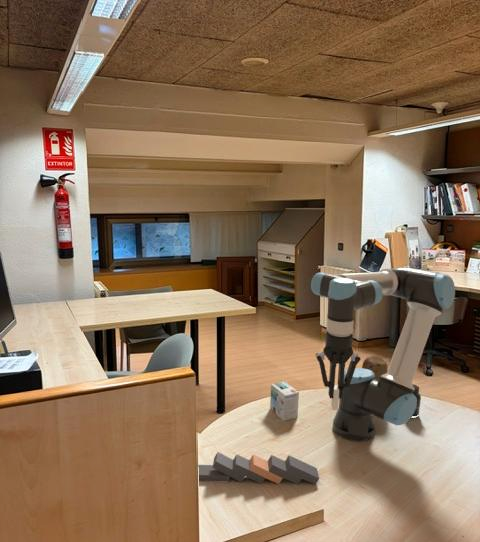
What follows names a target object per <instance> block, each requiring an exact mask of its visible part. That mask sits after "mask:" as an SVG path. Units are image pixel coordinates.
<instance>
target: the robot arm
mask: <svg viewBox="0 0 480 542" xmlns="http://www.w3.org/2000/svg"><path fill="white" fill-rule="evenodd" d="M310 289H311V291H312V293H313V294H314V295H317V296H319V297H321V298H327V301H328V302H327V315H326V316H327V319H326V333H325V344H324V345H325V346H324V348H323V351H321V352H320V353H318V352H316V354H315V358H316V360H317V361H318V364H319V368H320V374H321V380H322V382H323V385H324V387H325V388H328V396H329V399H331V405H330V406H331V409H332V410H333V411H337V412H336V414H335V416H334V418H333V420H332V430H333V431H334V432H335V434H337V435H338V436H340V437H341V438H344V439H346V440H350V441H356V442H357V441H358V442H361V441H362V442H363V441H367V440H370V439H372V438H373V437H374V436H375V432H376V426H375V422H374V418H373V416H375V417H377V418H378V419H381V420H383V421H384V422H387V423H389V424H392V425H394V426H402V425H404V424H406V423H407V422H409V420H410V419H412V418H411V417H412V415H413V413H414V411H415V409H416V406H417V398H416V396H415V395H414V394H413V392H414V390H415V389H414V387H413V385H414V384H413V381H414V378H415V375H416V373H417V369H418V366H419V363H420V361H421V358H422V356H423V352H424V349H425V347H426V344H427V342H428V338H429V335H430V333H431V329H432V327H433V324H434V322H435V319H436V317H439V316H440V315H442V314H443V311H444V310H447V309H450V308H451V307H452V305H453V304H454V302H455V301H454V300H455V297H456V287H455V282H454V280H453V278H452V277H451V276H450V275H449V274H444V273H442V272H438V271H431V270H425V269H419V268H414V267H393V268H384V269H383V268H382V269H380V270H379V271H376V272H375V271H373V272H372V271H371V272H357V273H355V272H354V273H334V274H331V273H327V272H317V273H315V274H314V275H313V277H312V278H311V283H310ZM383 296H392V297H397V298H401V299H402V300H403V299H404V300H407V302H406V303H407V306H408V308H409V310H408V313H407V316H406V319H405V321H404V325H403V327H402V329H401V332H400V335H399V338H398V339H397V340H398V341H397V343H396V346H395V349H394V352H393V354H392V356H391V357H392V358H391V361H390V363H389V366H388V367H387V368H388V369H387V373H386V374H384V375H381V376H380V379H379V381H378V380H376V379H374V377H375V375H374V372H373V371H371V370H368V369H363V368H362V367H357V365H358V363H359V362H360V361H361V359H362V358H361V357H360V355H359V353H356V352H354V350H353V339H354V338H353V333H354V322H355V320H354V319H355V313H356V312H355V311H357V310H359V309H364V308H367V307H368V308H369V307H373V306H374V305H377V304H379V303H380V302H381V300H382V298H383ZM325 357H326V358H327V360H328V361H329V374H328V375H329V376H328V377H329V378H328V377H327V371H326V365H325V363H324V361H325V359H326V358H325ZM349 360H350V362H349V365H348V368H347V369H345V368H346V363H347V362H348V361H349ZM337 364H338V370H337V371H338V372H337V385H336V384H335V383H336V382H335V381H336V368H337ZM412 384H413V385H412Z"/></svg>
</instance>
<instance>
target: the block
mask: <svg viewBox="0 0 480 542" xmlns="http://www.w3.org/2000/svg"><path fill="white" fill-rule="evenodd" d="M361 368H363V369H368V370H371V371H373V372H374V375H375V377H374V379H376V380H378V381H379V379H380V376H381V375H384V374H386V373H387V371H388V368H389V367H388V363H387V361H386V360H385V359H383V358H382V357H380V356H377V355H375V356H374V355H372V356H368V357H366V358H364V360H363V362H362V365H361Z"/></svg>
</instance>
